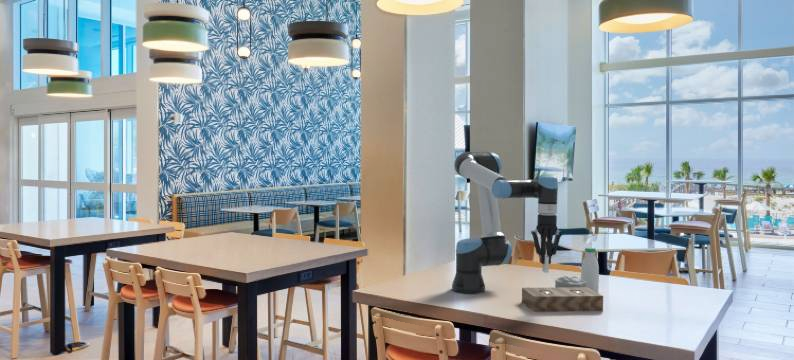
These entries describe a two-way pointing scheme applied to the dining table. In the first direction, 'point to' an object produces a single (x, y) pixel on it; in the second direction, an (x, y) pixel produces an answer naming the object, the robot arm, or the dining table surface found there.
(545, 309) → the walnut block
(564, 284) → the lumpy-topped squat cylinder
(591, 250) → the milk bottle
